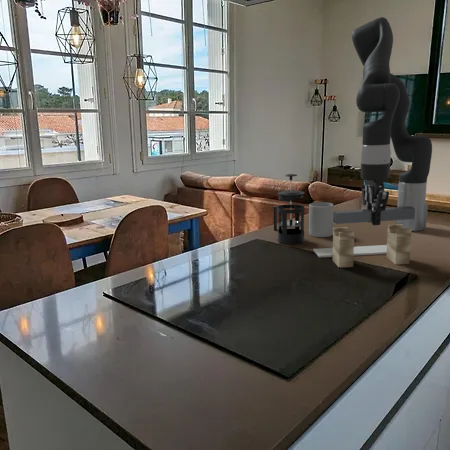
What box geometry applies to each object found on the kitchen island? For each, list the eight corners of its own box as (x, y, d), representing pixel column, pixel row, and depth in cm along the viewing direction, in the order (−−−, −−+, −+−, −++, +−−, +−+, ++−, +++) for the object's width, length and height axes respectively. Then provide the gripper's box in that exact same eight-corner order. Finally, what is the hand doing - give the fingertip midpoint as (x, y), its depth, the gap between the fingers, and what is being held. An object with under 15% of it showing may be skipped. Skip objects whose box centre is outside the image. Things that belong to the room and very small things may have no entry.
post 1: (346, 259, 124) (347, 226, 122) (353, 266, 118) (354, 232, 116) (332, 260, 124) (333, 227, 121) (338, 267, 118) (339, 232, 116)
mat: (393, 246, 135) (394, 244, 135) (404, 252, 128) (404, 251, 128) (313, 250, 134) (313, 248, 134) (319, 257, 127) (319, 255, 127)
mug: (333, 237, 148) (334, 206, 145) (308, 237, 149) (309, 206, 147) (331, 229, 159) (332, 200, 156) (308, 228, 161) (309, 200, 158)
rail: (409, 216, 120) (409, 206, 119) (414, 218, 117) (415, 208, 117) (333, 221, 119) (333, 211, 119) (336, 224, 116) (336, 213, 116)
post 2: (399, 257, 125) (401, 224, 122) (409, 263, 119) (411, 229, 116) (386, 257, 124) (388, 224, 122) (395, 264, 119) (397, 229, 116)
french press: (311, 239, 146) (312, 173, 140) (298, 246, 139) (298, 176, 133) (282, 235, 153) (281, 171, 147) (267, 241, 146) (266, 175, 140)
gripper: (401, 163, 108) (397, 228, 112) (378, 158, 121) (376, 217, 125) (372, 164, 107) (370, 230, 112) (352, 159, 121) (351, 218, 125)
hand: (373, 223), depth 119 cm, fingers closed on rail, 3 cm apart
